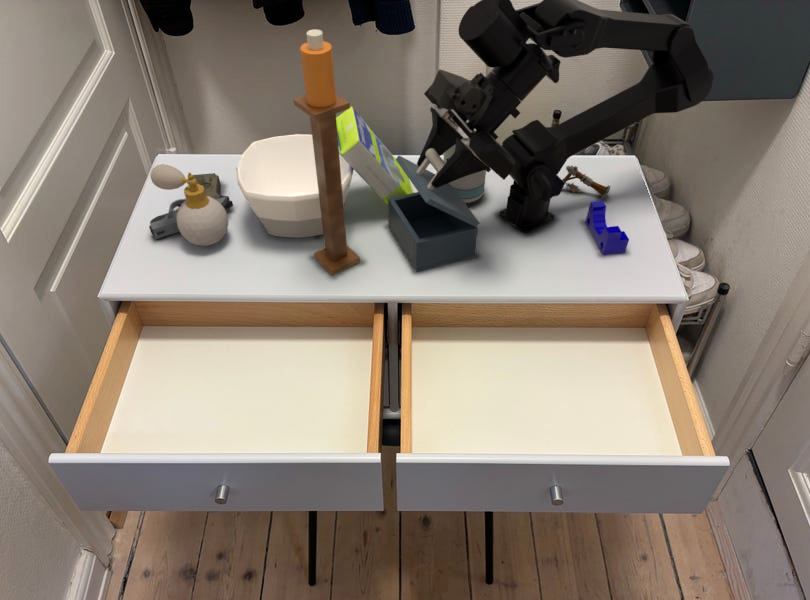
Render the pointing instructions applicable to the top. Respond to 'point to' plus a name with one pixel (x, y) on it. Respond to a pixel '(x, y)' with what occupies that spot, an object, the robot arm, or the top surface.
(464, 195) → the beverage can
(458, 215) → the lid
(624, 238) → the cable holder
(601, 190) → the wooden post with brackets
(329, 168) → the stand
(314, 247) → the top surface
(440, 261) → the compartment
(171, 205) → the handgun
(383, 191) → the box
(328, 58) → the detergent bottle
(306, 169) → the bowl
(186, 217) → the perfume bottle
